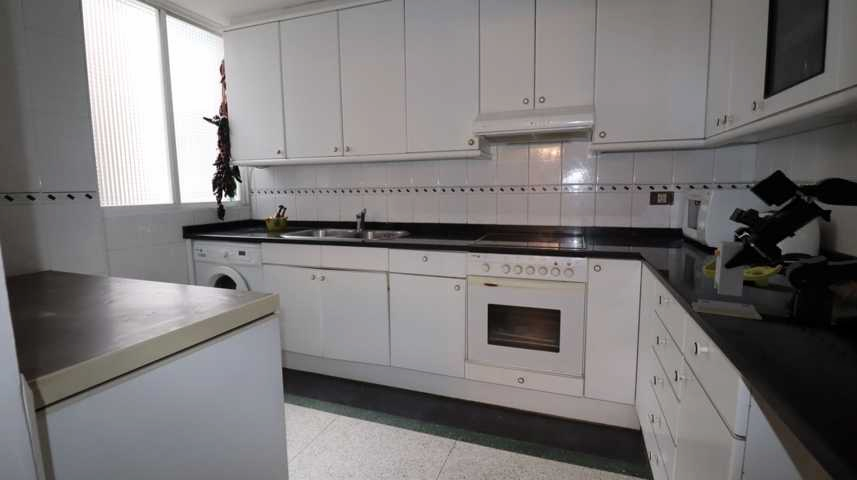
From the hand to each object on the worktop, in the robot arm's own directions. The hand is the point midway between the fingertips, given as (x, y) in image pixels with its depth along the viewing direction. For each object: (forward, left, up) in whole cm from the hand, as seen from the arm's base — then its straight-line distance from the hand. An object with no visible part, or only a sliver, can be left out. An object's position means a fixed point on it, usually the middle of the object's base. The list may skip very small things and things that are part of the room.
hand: (722, 264), depth 98 cm
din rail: (-1, -1, -12) cm, 12 cm away
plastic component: (+25, -31, -12) cm, 42 cm away
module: (-1, -1, -7) cm, 7 cm away
